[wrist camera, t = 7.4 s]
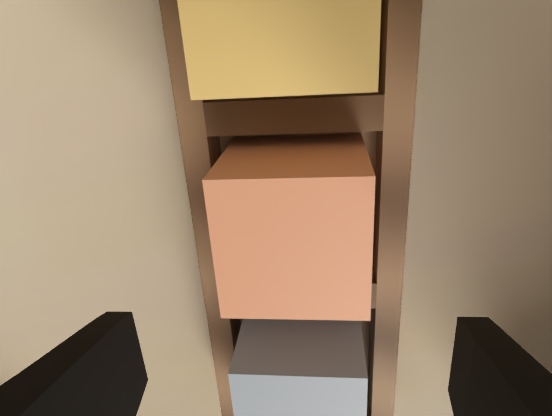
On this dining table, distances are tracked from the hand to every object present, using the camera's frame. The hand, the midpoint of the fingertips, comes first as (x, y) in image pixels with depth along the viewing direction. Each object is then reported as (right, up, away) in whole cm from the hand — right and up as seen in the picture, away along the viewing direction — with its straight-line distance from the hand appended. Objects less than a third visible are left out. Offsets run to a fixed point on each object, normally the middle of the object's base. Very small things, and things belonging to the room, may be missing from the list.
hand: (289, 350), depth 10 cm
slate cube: (+1, -3, +11) cm, 12 cm away
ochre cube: (0, +10, +5) cm, 12 cm away
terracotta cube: (+1, +4, +8) cm, 9 cm away
